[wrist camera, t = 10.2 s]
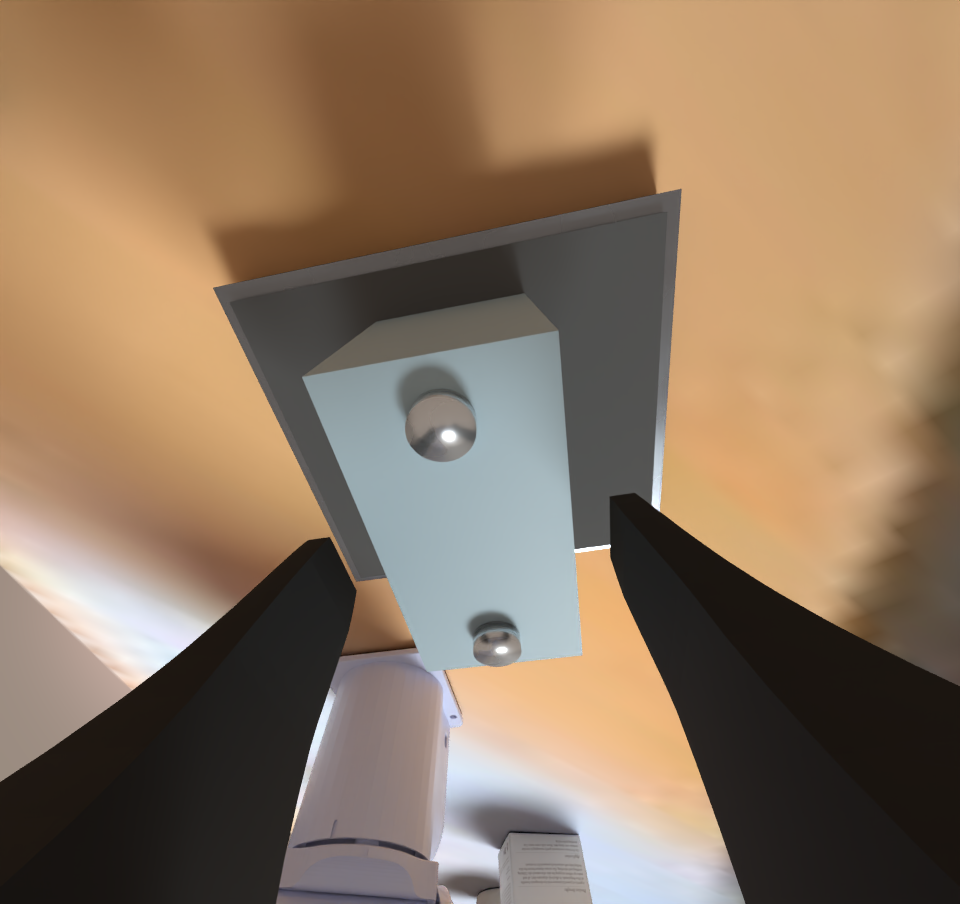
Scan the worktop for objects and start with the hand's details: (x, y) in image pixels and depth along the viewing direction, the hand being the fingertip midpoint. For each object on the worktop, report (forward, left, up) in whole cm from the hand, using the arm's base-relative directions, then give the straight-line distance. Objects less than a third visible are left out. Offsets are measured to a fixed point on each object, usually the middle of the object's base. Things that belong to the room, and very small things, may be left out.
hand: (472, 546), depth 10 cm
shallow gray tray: (0, 0, -8) cm, 8 cm away
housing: (0, 0, -6) cm, 6 cm away
